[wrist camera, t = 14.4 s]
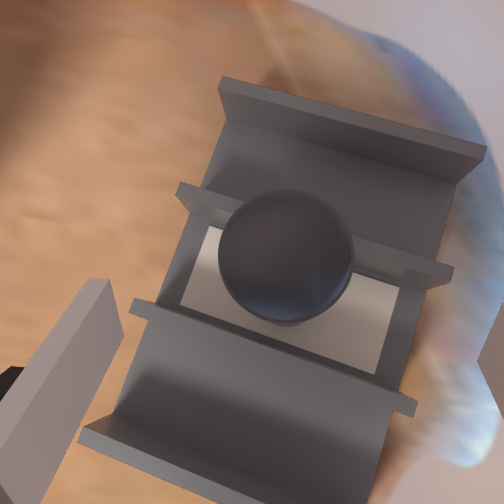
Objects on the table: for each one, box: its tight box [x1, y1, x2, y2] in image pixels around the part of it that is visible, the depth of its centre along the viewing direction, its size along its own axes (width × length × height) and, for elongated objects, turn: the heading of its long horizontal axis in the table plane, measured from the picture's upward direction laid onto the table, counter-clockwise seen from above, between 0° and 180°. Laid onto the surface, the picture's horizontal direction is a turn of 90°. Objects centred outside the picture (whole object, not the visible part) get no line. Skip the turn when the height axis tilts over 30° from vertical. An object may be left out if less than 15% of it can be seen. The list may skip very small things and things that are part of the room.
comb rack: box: [77, 76, 487, 504], centre depth 23 cm, size 15×22×5 cm
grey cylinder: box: [218, 189, 355, 326], centre depth 18 cm, size 4×4×12 cm
